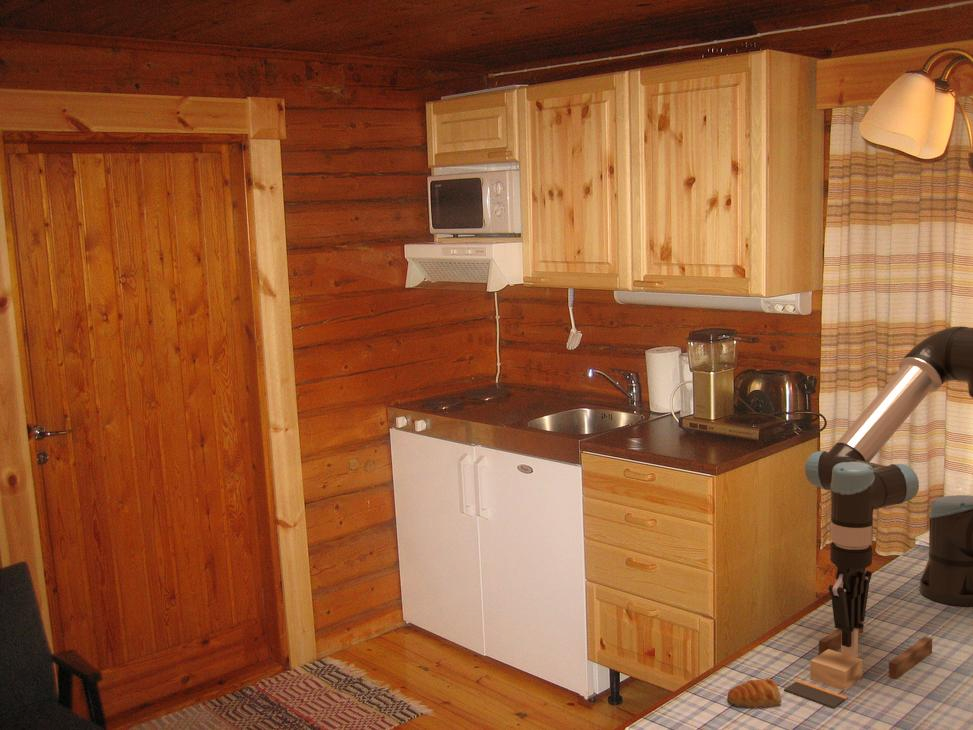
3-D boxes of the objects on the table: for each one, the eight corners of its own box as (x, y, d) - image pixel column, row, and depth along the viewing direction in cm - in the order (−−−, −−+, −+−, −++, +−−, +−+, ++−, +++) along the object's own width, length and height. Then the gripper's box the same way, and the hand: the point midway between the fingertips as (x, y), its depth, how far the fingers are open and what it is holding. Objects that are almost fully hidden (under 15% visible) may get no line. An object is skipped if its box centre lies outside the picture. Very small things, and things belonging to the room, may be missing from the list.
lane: (856, 630, 208) (856, 617, 208) (931, 652, 196) (932, 638, 196) (818, 654, 197) (818, 640, 197) (896, 679, 186) (896, 664, 185)
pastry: (736, 713, 176) (736, 693, 175) (721, 696, 182) (720, 677, 182) (784, 707, 177) (784, 687, 177) (767, 690, 184) (767, 671, 183)
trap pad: (797, 681, 186) (797, 680, 186) (847, 698, 179) (847, 697, 179) (784, 690, 183) (784, 689, 183) (833, 708, 175) (833, 706, 175)
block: (828, 667, 192) (828, 648, 191) (862, 679, 187) (862, 659, 186) (810, 680, 187) (810, 660, 187) (844, 691, 182) (845, 671, 182)
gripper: (849, 531, 193) (847, 643, 196) (815, 547, 184) (814, 665, 188) (885, 539, 187) (883, 654, 191) (853, 556, 179) (851, 677, 182)
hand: (849, 659), depth 189 cm, fingers closed
